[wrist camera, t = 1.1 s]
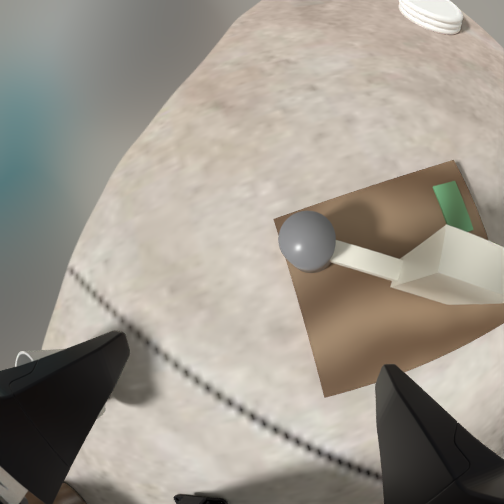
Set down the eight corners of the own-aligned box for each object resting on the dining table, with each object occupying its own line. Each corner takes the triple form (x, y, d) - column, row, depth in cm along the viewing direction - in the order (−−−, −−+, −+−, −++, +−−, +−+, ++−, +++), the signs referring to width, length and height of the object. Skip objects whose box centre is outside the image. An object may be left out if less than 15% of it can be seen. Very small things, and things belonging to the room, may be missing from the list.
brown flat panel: (500, 319, 16) (509, 319, 15) (325, 391, 20) (324, 398, 18) (448, 167, 20) (454, 158, 18) (277, 224, 24) (272, 218, 22)
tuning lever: (281, 265, 21) (236, 233, 12) (295, 220, 21) (263, 157, 12) (473, 323, 16) (552, 331, 6) (483, 278, 16) (562, 259, 7)
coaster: (385, 5, 25) (385, -12, 22) (427, 1, 23) (429, -14, 20) (431, 39, 22) (434, 20, 19) (471, 34, 20) (475, 18, 17)
